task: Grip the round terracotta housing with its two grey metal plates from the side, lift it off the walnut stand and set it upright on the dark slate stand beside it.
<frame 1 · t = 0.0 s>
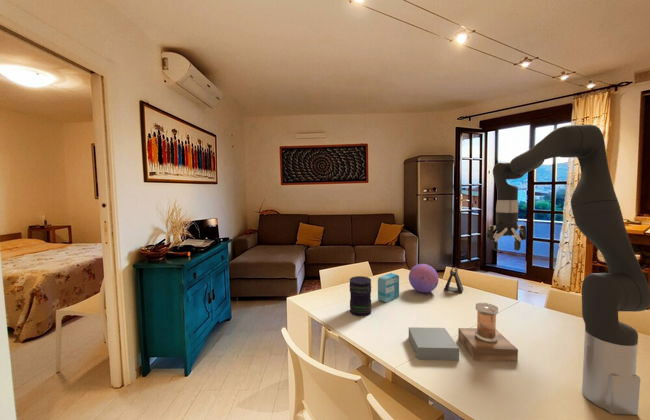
hand: (505, 250, 113), 29 cm above the table, tool pointing down, fingers open, 8 cm apart
walnut stand: (485, 349, 93), on the table
dark blue cylinder: (360, 312, 124), on the table
slate stand: (432, 348, 95), on the table
data package: (388, 299, 138), on the table
housing: (486, 337, 93), point 4 cm above the table, touching walnut stand
phone stand: (453, 290, 148), on the table
decorative ball: (423, 292, 147), on the table
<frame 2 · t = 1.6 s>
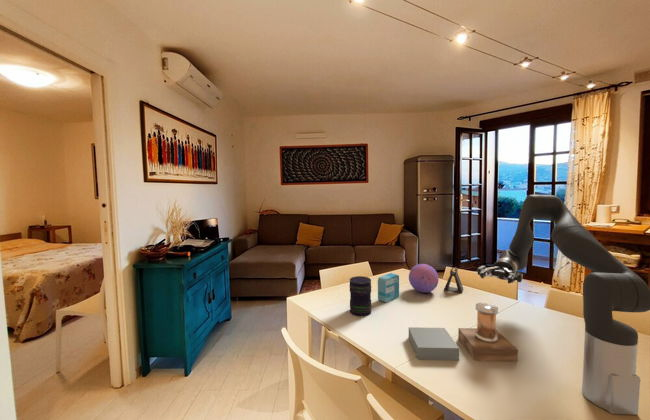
hand: (495, 278, 100), 22 cm above the table, tool horizontal, fingers open, 8 cm apart
nothing on the table moved.
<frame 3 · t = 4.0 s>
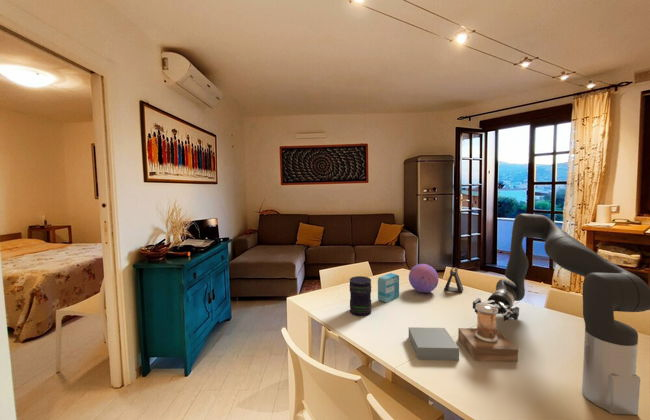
hand: (490, 314, 96), 10 cm above the table, tool horizontal, fingers open, 8 cm apart
nothing on the table moved.
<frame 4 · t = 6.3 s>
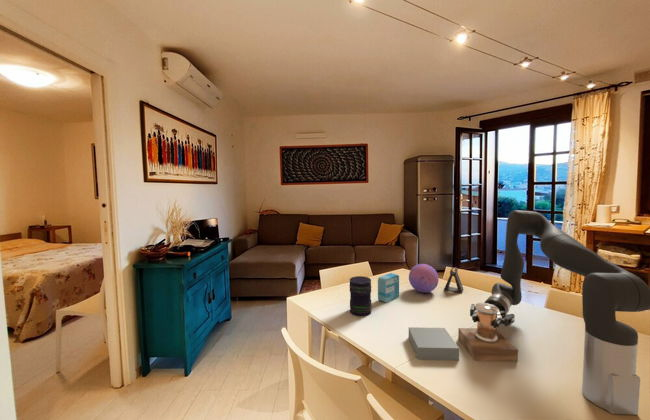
hand: (484, 322, 91), 11 cm above the table, tool horizontal, fingers closed on housing, 5 cm apart
housing: (486, 337, 93), point 4 cm above the table, touching gripper, walnut stand
everything else where it was.
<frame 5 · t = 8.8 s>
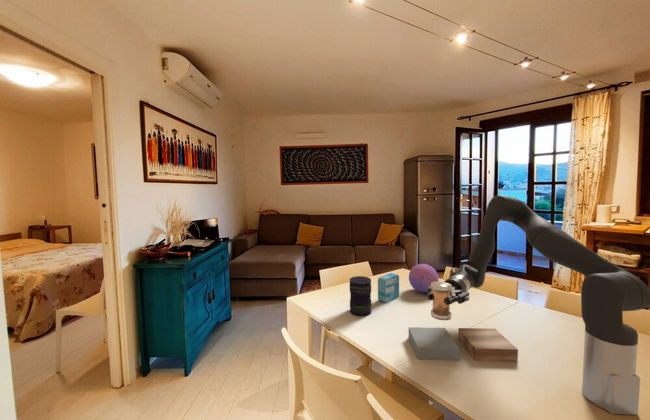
hand: (438, 299, 92), 18 cm above the table, tool horizontal, fingers closed on housing, 5 cm apart
housing: (440, 315, 94), point 11 cm above the table, touching gripper
everything else where it was.
when the fingers open (12 cm above the table, at t = 11.4 s): housing drops 1 cm, resting on slate stand.
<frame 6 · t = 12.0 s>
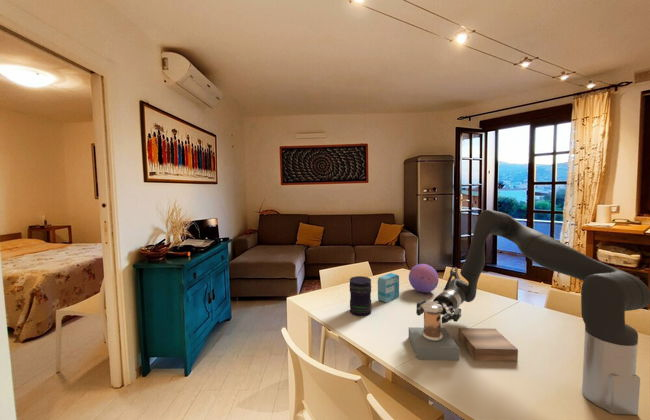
hand: (429, 316, 93), 12 cm above the table, tool horizontal, fingers open, 8 cm apart
housing: (432, 336, 95), point 4 cm above the table, touching slate stand
everything else where it was.
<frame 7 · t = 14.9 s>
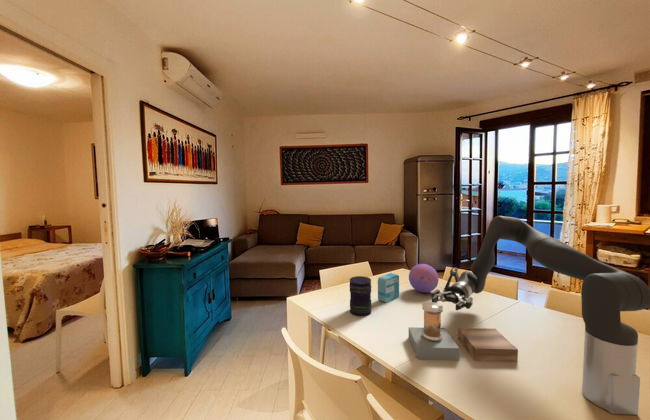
hand: (444, 304, 102), 12 cm above the table, tool horizontal, fingers open, 8 cm apart
nothing on the table moved.
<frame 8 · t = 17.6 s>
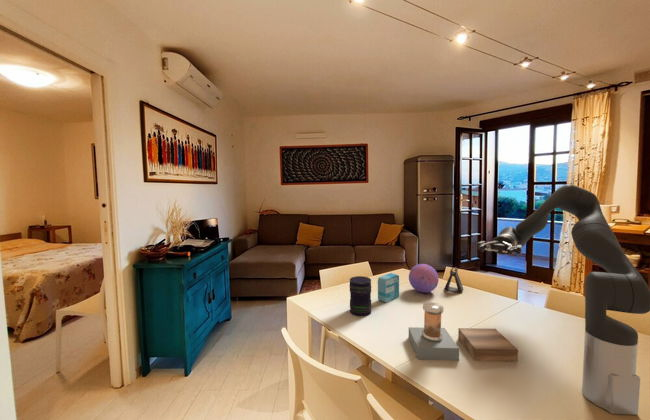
hand: (494, 250, 101), 32 cm above the table, tool horizontal, fingers open, 8 cm apart
nothing on the table moved.
at the end: housing 0.1 cm off-centre on the slate stand, point 4.1 cm above the slate stand's base; housing tilted 1°; the gripper is holding nothing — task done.
